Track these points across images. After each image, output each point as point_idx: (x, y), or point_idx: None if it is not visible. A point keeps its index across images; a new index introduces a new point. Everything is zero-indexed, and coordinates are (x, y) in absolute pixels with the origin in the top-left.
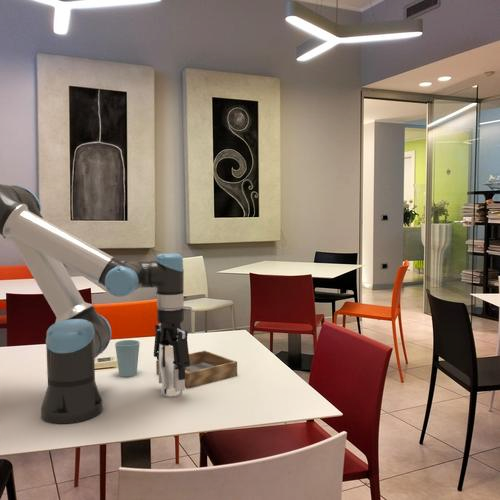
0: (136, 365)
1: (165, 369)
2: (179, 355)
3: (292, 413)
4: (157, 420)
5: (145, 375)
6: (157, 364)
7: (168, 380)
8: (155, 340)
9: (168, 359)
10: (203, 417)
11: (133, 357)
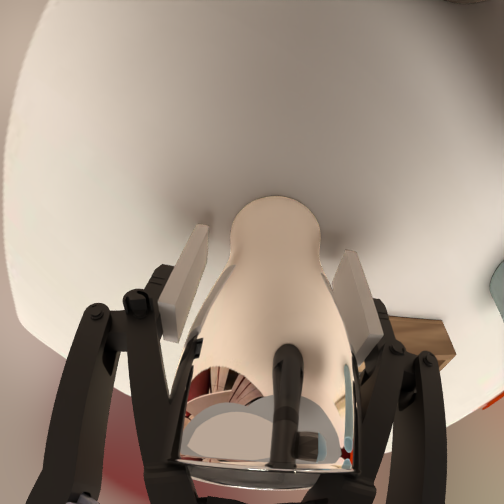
0: (500, 306)
1: (243, 277)
2: (87, 374)
3: (22, 297)
4: (94, 43)
5: (466, 298)
6: (448, 345)
7: (245, 246)
8: (440, 449)
9: (201, 344)
10: (42, 171)
11: None
